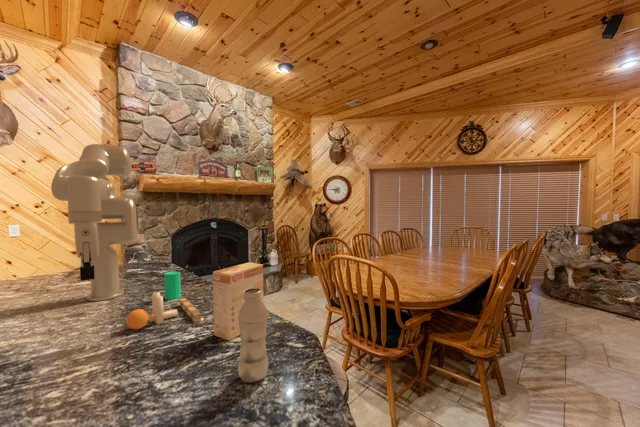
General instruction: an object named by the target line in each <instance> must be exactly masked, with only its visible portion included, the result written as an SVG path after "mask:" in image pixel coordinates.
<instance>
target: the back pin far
mask: <svg viewBox="0 0 640 427" xmlns="http://www.w3.org/2000/svg"><path fill="white" fill-rule="evenodd" d="M157 296H161V292H159V291H158V292H153V293H151V301H152V302H151V304H152V305H151V306H152V308H151V309H152V314H155V297H157Z"/></svg>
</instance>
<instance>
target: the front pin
mask: <svg viewBox="0 0 640 427" xmlns="http://www.w3.org/2000/svg"><path fill="white" fill-rule="evenodd" d="M178 314H179V312H178V309H177V308H176V309H171V310H167V311H163V319H164V320H166V319H171V318H175V317H178ZM148 315H149V320H148V322H149V323H153V322H154V323H155V314H153V313H152V314H148Z"/></svg>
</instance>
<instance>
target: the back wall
mask: <svg viewBox="0 0 640 427" xmlns="http://www.w3.org/2000/svg"><path fill="white" fill-rule="evenodd" d="M179 306H180V307H181V309H182V310H183V311H184V313H186V315H187V316H188V317H189V318H190V319H191V321H193V323H197V322H201V313H200V311H199V310H198V309H197V308H196V307H195V306H194V305H193V304H192V303H191V302H190V301H189V300H188V299H187V298H185V297H183V298H179Z"/></svg>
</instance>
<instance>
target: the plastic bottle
mask: <svg viewBox="0 0 640 427" xmlns="http://www.w3.org/2000/svg"><path fill="white" fill-rule="evenodd" d="M261 298H262V296H261V289H258V288H251V289H247V290H245V291H244V300H245V303H244V304H243V305H242V307H241V309H240V310H239V314H238V320H239V327H240V335H239V336H240V351H239V359H238V365H237V366H238V367H237V371H238V372H237V373H238V376H239V378H240V380H242V381H243V382H244V383H249V384H251V383H257V382H260V381H262V380H263V379H264V378H265V377H266V375H267V373H268V371H269V360H268V355H267V346H266V344H267V343H266V337H267V336H266V333H267V324H268V317H269V316H268V315H269V312H268V308H267V307H266V305H265V304H263V303H262V301H261V300H260V299H261Z"/></svg>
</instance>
